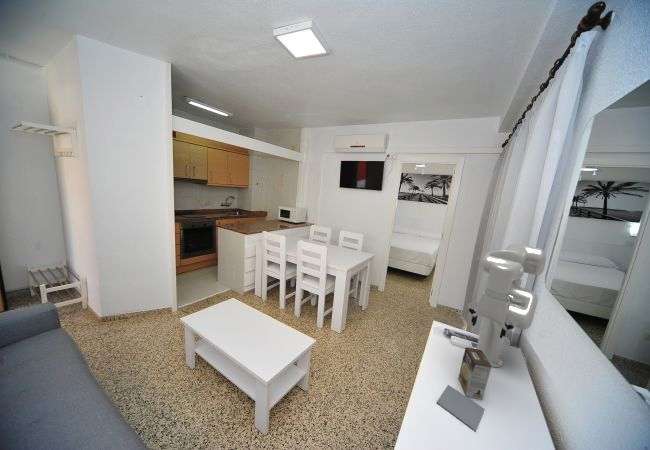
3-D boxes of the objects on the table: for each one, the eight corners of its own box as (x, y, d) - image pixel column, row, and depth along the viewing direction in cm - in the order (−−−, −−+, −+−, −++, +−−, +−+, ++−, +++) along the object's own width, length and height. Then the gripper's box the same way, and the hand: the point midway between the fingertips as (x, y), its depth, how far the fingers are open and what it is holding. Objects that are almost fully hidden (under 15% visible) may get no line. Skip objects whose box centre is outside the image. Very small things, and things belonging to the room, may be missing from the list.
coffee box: (457, 378, 99) (464, 346, 95) (473, 381, 97) (481, 349, 94) (465, 397, 90) (474, 362, 87) (483, 401, 89) (492, 366, 85)
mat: (447, 385, 94) (448, 384, 94) (484, 410, 85) (484, 408, 85) (436, 403, 86) (436, 401, 86) (475, 432, 77) (475, 430, 77)
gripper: (525, 299, 87) (515, 337, 90) (474, 282, 99) (466, 316, 103) (522, 306, 82) (511, 346, 85) (469, 287, 94) (461, 323, 98)
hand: (487, 330), depth 94 cm, fingers open, 9 cm apart
